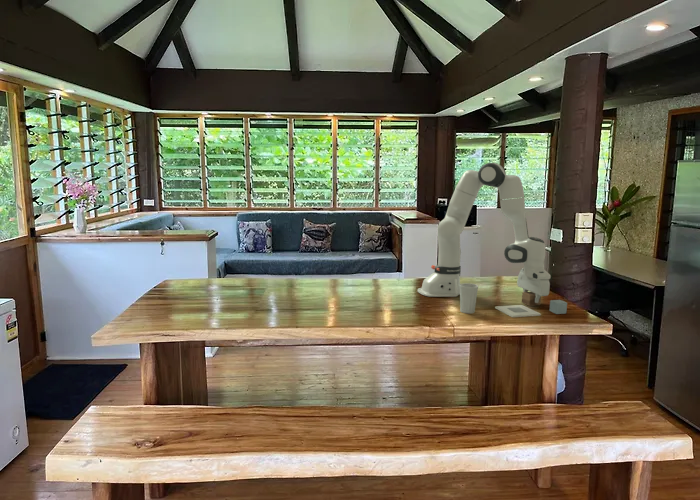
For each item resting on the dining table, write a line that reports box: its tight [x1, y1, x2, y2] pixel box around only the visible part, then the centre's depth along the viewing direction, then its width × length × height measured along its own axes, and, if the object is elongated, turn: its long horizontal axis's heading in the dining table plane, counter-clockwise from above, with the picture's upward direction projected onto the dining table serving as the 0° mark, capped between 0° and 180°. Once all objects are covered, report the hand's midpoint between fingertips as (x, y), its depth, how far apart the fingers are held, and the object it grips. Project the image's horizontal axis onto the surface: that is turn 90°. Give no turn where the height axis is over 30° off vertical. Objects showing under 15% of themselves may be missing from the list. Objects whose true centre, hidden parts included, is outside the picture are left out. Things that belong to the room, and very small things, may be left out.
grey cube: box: [548, 299, 568, 315], centre depth 215 cm, size 5×5×5 cm
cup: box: [459, 282, 479, 314], centre depth 213 cm, size 8×8×12 cm
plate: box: [494, 304, 542, 318], centre depth 215 cm, size 14×14×1 cm
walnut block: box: [521, 291, 542, 307], centre depth 227 cm, size 6×6×5 cm
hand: (531, 300), depth 227 cm, fingers closed on walnut block, 6 cm apart
